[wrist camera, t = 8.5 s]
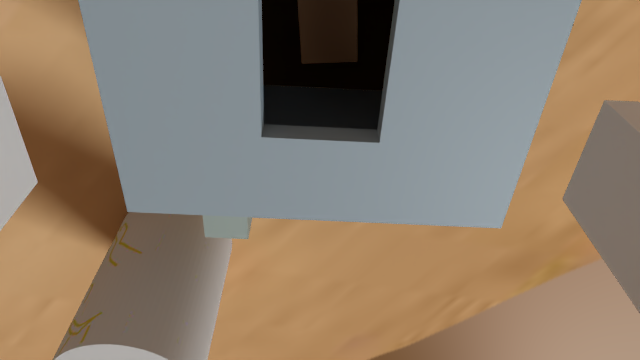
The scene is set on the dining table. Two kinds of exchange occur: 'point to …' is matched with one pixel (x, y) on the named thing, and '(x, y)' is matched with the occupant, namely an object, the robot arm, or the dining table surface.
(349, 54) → the brown square block
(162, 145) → the coin box
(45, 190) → the dining table surface
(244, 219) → the token slate
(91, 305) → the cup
